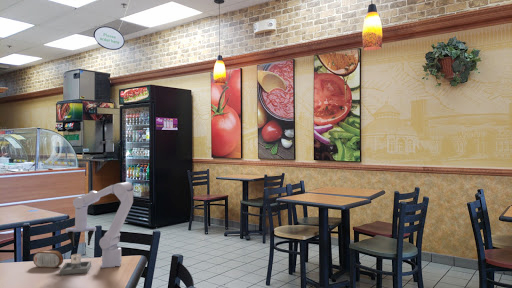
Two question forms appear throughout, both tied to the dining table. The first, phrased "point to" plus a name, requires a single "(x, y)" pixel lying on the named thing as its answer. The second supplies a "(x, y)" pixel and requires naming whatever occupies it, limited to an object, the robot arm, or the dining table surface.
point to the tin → (48, 259)
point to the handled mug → (75, 261)
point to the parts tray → (68, 271)
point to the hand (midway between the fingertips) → (80, 245)
